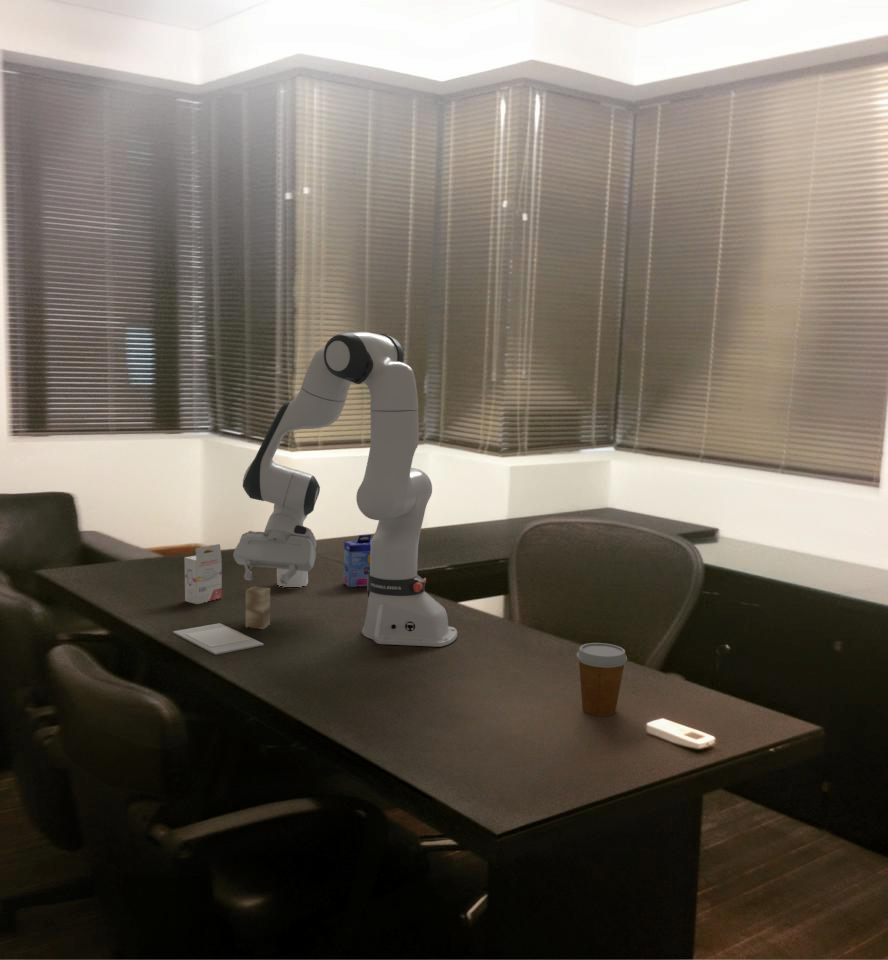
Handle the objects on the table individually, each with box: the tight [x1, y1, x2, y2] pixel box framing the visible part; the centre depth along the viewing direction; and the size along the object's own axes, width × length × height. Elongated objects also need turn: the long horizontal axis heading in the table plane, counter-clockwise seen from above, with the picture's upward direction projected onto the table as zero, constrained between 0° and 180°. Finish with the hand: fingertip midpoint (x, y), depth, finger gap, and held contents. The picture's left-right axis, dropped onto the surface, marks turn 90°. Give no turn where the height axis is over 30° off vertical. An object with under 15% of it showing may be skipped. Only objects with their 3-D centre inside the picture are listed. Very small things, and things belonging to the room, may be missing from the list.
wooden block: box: [244, 586, 271, 630], centre depth 243 cm, size 4×4×9 cm
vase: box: [276, 568, 309, 588], centre depth 284 cm, size 9×9×12 cm
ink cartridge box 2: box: [342, 534, 372, 588], centre depth 287 cm, size 10×6×14 cm, turn 115°
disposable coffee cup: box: [576, 642, 628, 717], centre depth 194 cm, size 10×10×12 cm
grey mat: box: [172, 622, 264, 656], centre depth 232 cm, size 20×12×1 cm, turn 41°
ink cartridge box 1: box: [183, 543, 223, 605], centre depth 265 cm, size 9×5×15 cm, turn 143°
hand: (265, 580), depth 247 cm, fingers open, 8 cm apart
